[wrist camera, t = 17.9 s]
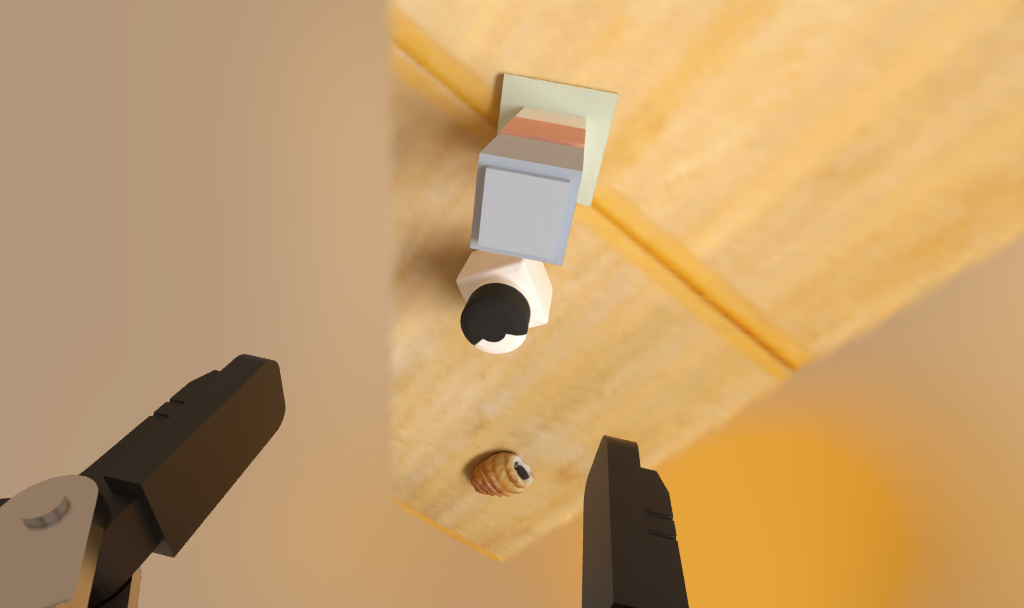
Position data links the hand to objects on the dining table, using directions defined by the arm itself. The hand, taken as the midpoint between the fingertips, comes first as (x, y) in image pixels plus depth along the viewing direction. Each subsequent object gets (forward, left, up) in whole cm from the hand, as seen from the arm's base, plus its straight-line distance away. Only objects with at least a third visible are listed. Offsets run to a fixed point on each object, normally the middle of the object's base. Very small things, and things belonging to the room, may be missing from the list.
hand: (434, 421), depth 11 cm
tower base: (0, 0, -36) cm, 36 cm away
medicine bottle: (+14, -2, -36) cm, 39 cm away
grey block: (0, 0, -22) cm, 22 cm away
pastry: (+46, +2, -37) cm, 59 cm away
